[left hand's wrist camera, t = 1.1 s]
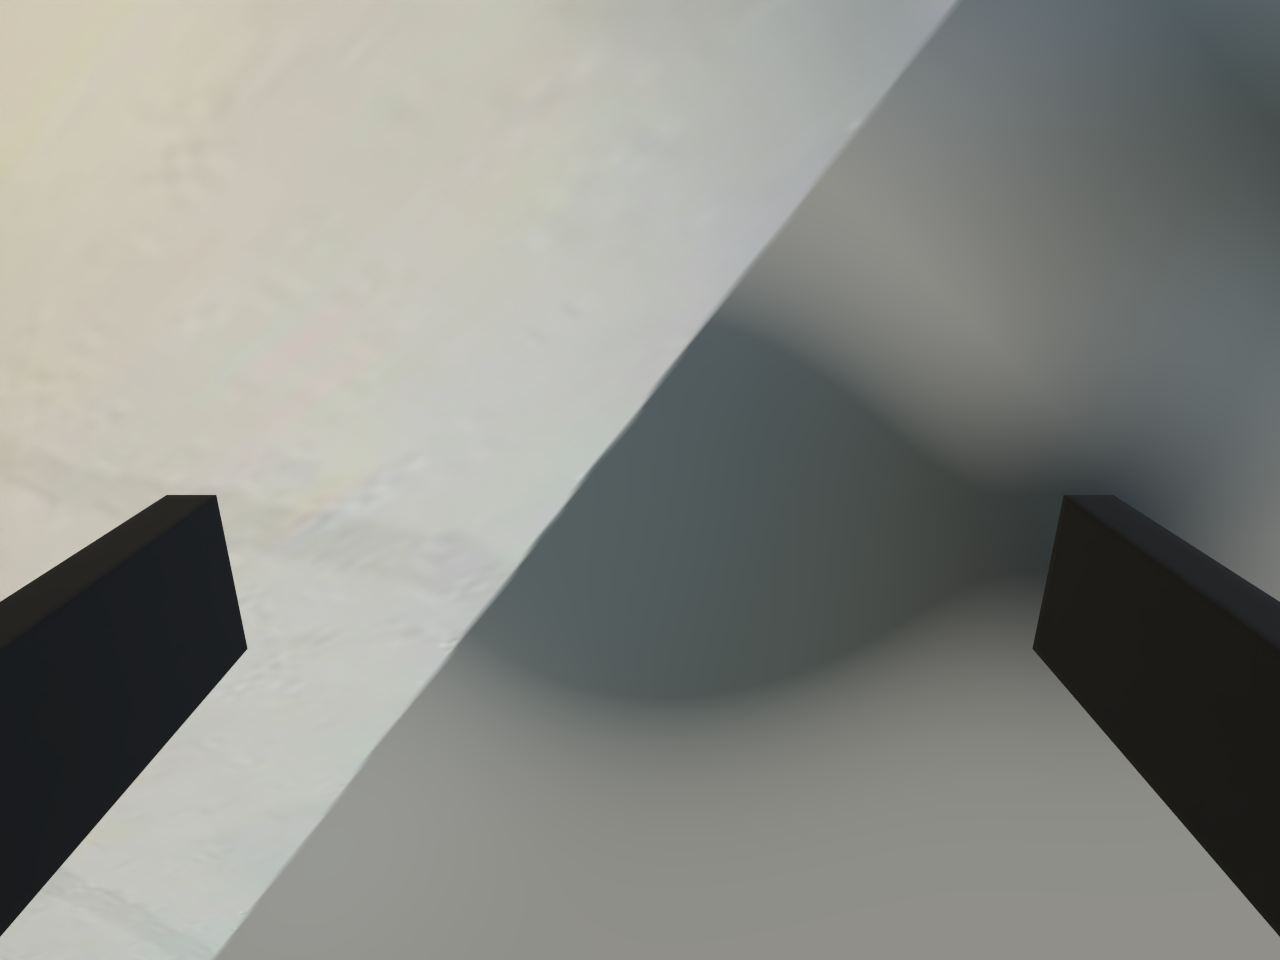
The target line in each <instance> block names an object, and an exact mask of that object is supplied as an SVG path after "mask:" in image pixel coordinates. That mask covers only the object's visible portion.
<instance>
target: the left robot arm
mask: <svg viewBox="0 0 1280 960" xmlns="http://www.w3.org/2000/svg"><path fill="white" fill-rule="evenodd" d="M246 650H247V645H246V640H245V635H244V630H243V625H242V620H241V615H240V610H239V605H238V600H237V595H236V590H235V585H234V581H233V576H232V571H231V566H230V561H229V556H228V551H227V546H226V541H225V536H224V531H223V526H222V521H221V517H220V512H219V507H218V502H217V497H216V495H166V496H165V497H163V498H161V499H160V500H158V501H157V502H155V503H154V504H152V505H151V506H149V507H147V508H146V509H144V510H143V511H141V512H140V513H138V514H137V515H135V516H133V517H132V518H130V519H129V520H127V521H126V522H124V523H123V524H121V525H119V526H118V527H116V528H115V529H113V530H112V531H110V532H109V533H107V534H105V535H104V536H102V537H101V538H99V539H98V540H96V541H94V542H93V543H91V544H90V545H88V546H87V547H85V548H84V549H82V550H80V551H79V552H77V553H76V554H74V555H73V556H71V557H70V558H68V559H66V560H65V561H63V562H62V563H60V564H59V565H57V566H56V567H54V568H52V569H51V570H49V571H48V572H46V573H45V574H43V575H42V576H40V577H38V578H37V579H35V580H34V581H32V582H31V583H29V584H28V585H26V586H24V587H23V588H21V589H20V590H18V591H17V592H15V593H13V594H12V595H10V596H9V597H7V598H6V599H4V600H3V601H1V602H0V936H1V935H2V934H3V933H4V932H5V930H6V929H7V928H8V927H9V926H10V925H11V923H12V922H13V921H14V920H15V919H16V918H17V916H18V915H19V914H20V913H21V912H22V911H23V909H24V908H25V907H26V906H27V905H28V904H29V902H30V901H31V900H32V899H33V898H34V897H35V895H36V894H37V893H38V892H39V891H40V890H41V889H42V887H43V886H44V885H45V884H46V883H47V882H48V880H49V879H50V878H51V877H52V876H53V875H54V873H55V872H56V871H57V870H58V869H59V868H60V866H61V865H62V864H63V863H64V862H65V861H66V859H67V858H68V857H69V856H70V855H71V854H72V852H73V851H74V850H75V849H76V848H77V847H78V845H79V844H80V843H81V842H82V841H83V840H84V838H85V837H86V836H87V835H88V834H89V833H90V831H91V830H92V829H93V828H94V827H95V826H96V824H97V823H98V822H99V821H100V820H101V819H102V817H103V816H104V815H105V814H106V813H107V812H108V810H109V809H110V808H111V807H112V806H113V805H114V803H115V802H116V801H117V800H118V799H119V798H120V796H121V795H122V794H123V793H124V792H125V791H126V789H127V788H128V787H129V786H130V785H131V784H132V782H133V781H134V780H135V779H136V778H137V777H138V776H139V774H140V773H141V772H142V771H143V770H144V769H145V767H146V766H147V765H148V764H149V763H150V762H151V760H152V759H153V758H154V757H155V756H156V755H157V753H158V752H159V751H160V750H161V749H162V748H163V746H164V745H165V744H166V743H167V742H168V741H169V739H170V738H171V737H172V736H173V735H174V734H175V732H176V731H177V730H178V729H179V728H180V727H181V725H182V724H183V723H184V722H185V721H186V720H187V718H188V717H189V716H190V715H191V714H192V713H193V711H194V710H195V709H196V708H197V707H198V706H199V704H200V703H201V702H202V701H203V700H204V699H205V697H206V696H207V695H208V694H209V693H210V692H211V690H212V689H213V688H214V687H215V686H216V685H217V683H218V682H219V681H220V680H221V679H222V678H223V676H224V675H225V674H226V673H227V672H228V671H229V670H230V668H231V667H232V666H233V665H234V664H235V663H236V661H237V660H238V659H239V658H240V657H241V656H242V654H243V653H244V652H245V651H246ZM1033 650H1034V651H1035V652H1036V653H1037V654H1038V656H1039V657H1040V658H1041V659H1042V660H1043V661H1044V662H1045V664H1046V665H1047V666H1048V667H1049V668H1050V669H1051V671H1052V672H1053V673H1054V674H1055V675H1056V676H1057V678H1058V679H1059V680H1060V681H1061V682H1062V683H1063V685H1064V686H1065V687H1066V688H1067V689H1068V690H1069V692H1070V693H1071V694H1072V695H1073V696H1074V697H1075V699H1076V700H1077V701H1078V702H1079V703H1080V704H1081V706H1082V707H1083V708H1084V709H1085V710H1086V711H1087V713H1088V714H1089V715H1090V716H1091V717H1092V718H1093V720H1094V721H1095V722H1096V723H1097V724H1098V725H1099V727H1100V728H1101V729H1102V730H1103V731H1104V732H1105V734H1106V735H1107V736H1108V737H1109V738H1110V739H1111V741H1112V742H1113V743H1114V744H1115V745H1116V746H1117V748H1118V749H1119V750H1120V751H1121V752H1122V753H1123V755H1124V756H1125V757H1126V758H1127V759H1128V760H1129V762H1130V763H1131V764H1132V765H1133V766H1134V767H1135V768H1136V770H1137V771H1138V772H1139V773H1140V774H1141V776H1142V777H1143V778H1144V779H1145V780H1146V781H1147V782H1148V784H1149V785H1150V786H1151V787H1152V788H1153V789H1154V791H1155V792H1156V793H1157V794H1158V795H1159V796H1160V798H1161V799H1162V800H1163V801H1164V802H1165V803H1166V805H1167V806H1168V807H1169V808H1170V809H1171V810H1172V812H1173V813H1174V814H1175V815H1176V816H1177V817H1178V819H1179V820H1180V821H1181V822H1182V823H1183V824H1184V826H1185V827H1186V828H1187V829H1188V830H1189V831H1190V833H1191V834H1192V835H1193V836H1194V837H1195V838H1196V840H1197V841H1198V842H1199V843H1200V844H1201V845H1202V847H1203V848H1204V849H1205V850H1206V851H1207V852H1208V854H1209V855H1210V856H1211V857H1212V858H1213V859H1214V861H1215V862H1216V863H1217V864H1218V865H1219V866H1220V867H1221V869H1222V870H1223V871H1224V872H1225V873H1226V875H1227V876H1228V877H1229V878H1230V879H1231V880H1232V882H1233V883H1234V884H1235V885H1236V886H1237V887H1238V889H1239V890H1240V891H1241V892H1242V893H1243V894H1244V895H1245V897H1246V898H1247V899H1248V900H1249V901H1250V902H1251V904H1252V905H1253V906H1254V907H1255V908H1256V909H1257V911H1258V912H1259V913H1260V914H1261V915H1262V916H1263V918H1264V919H1265V920H1266V921H1267V922H1268V923H1269V925H1270V926H1271V927H1272V928H1273V929H1274V930H1275V932H1276V933H1277V934H1278V935H1279V936H1280V602H1279V601H1277V600H1276V599H1274V598H1273V597H1271V596H1270V595H1268V594H1267V593H1265V592H1263V591H1262V590H1260V589H1259V588H1257V587H1256V586H1254V585H1252V584H1251V583H1249V582H1248V581H1246V580H1245V579H1243V578H1242V577H1240V576H1238V575H1237V574H1235V573H1234V572H1232V571H1231V570H1229V569H1228V568H1226V567H1224V566H1223V565H1221V564H1220V563H1218V562H1217V561H1215V560H1214V559H1212V558H1210V557H1209V556H1207V555H1206V554H1204V553H1203V552H1201V551H1200V550H1198V549H1196V548H1195V547H1193V546H1192V545H1190V544H1189V543H1187V542H1186V541H1184V540H1182V539H1181V538H1179V537H1178V536H1176V535H1175V534H1173V533H1171V532H1170V531H1168V530H1167V529H1165V528H1164V527H1162V526H1161V525H1159V524H1157V523H1156V522H1154V521H1153V520H1151V519H1150V518H1148V517H1147V516H1145V515H1143V514H1142V513H1140V512H1139V511H1137V510H1136V509H1134V508H1133V507H1131V506H1129V505H1128V504H1126V503H1125V502H1123V501H1122V500H1120V499H1119V498H1117V497H1115V496H1114V495H1064V497H1063V502H1062V507H1061V512H1060V517H1059V521H1058V526H1057V531H1056V536H1055V541H1054V546H1053V551H1052V556H1051V561H1050V566H1049V571H1048V576H1047V581H1046V586H1045V590H1044V595H1043V600H1042V605H1041V610H1040V615H1039V620H1038V625H1037V630H1036V635H1035V640H1034V645H1033Z"/></svg>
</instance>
